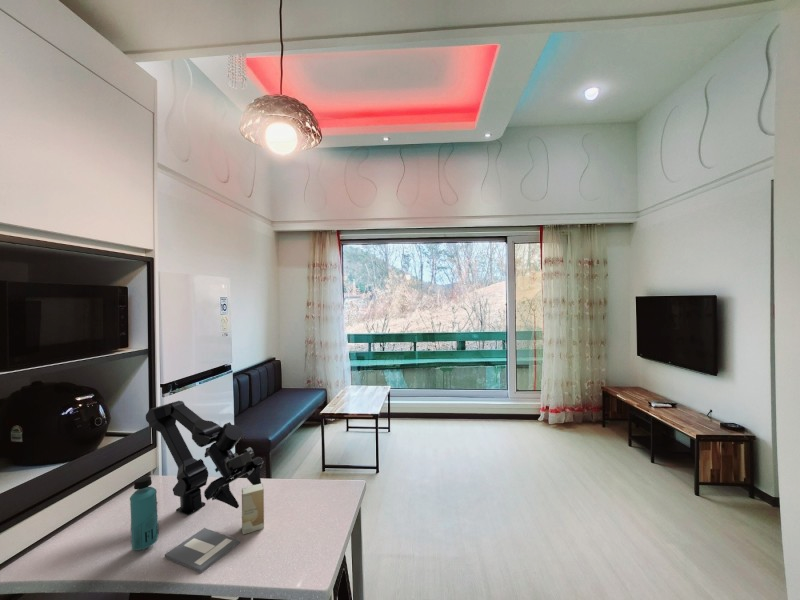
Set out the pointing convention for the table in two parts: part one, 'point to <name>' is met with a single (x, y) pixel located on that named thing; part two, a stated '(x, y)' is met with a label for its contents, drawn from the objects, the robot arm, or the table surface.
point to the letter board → (202, 549)
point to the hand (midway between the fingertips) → (250, 499)
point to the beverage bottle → (143, 514)
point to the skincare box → (252, 508)
